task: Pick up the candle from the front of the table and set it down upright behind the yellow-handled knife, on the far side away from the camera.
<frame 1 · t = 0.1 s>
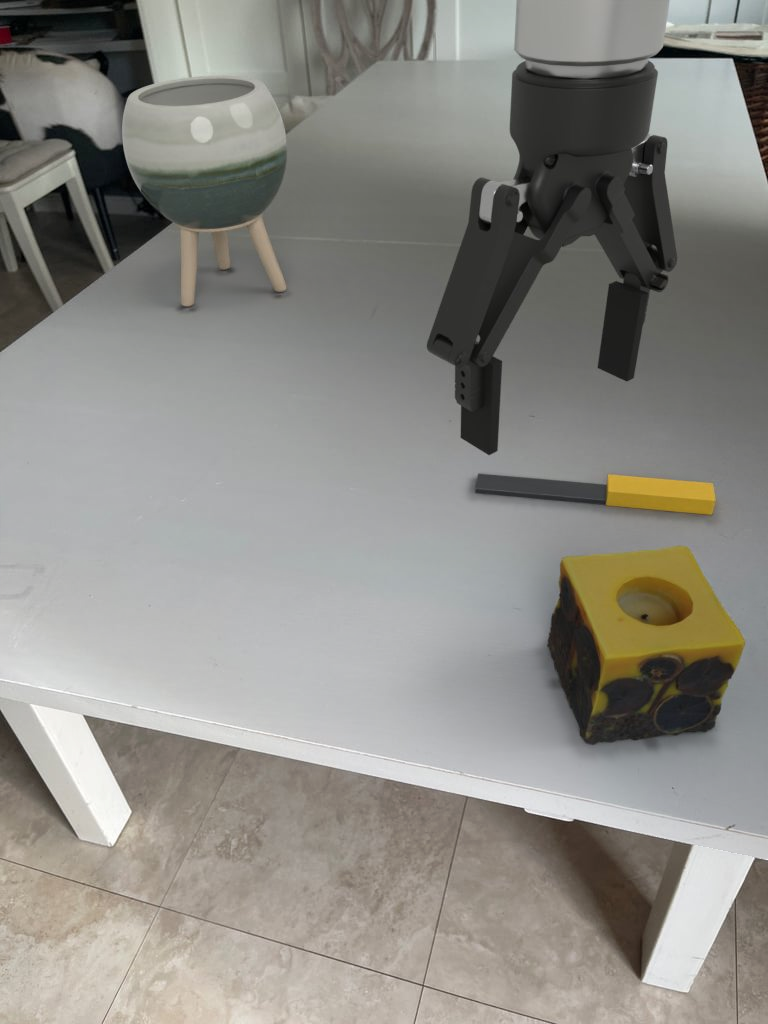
hand: (550, 407, 56), 21 cm above the table, tool pointing down, fingers open, 13 cm apart
knife: (585, 495, 81), on the table
candle: (625, 687, 63), on the table
planter: (231, 289, 125), on the table
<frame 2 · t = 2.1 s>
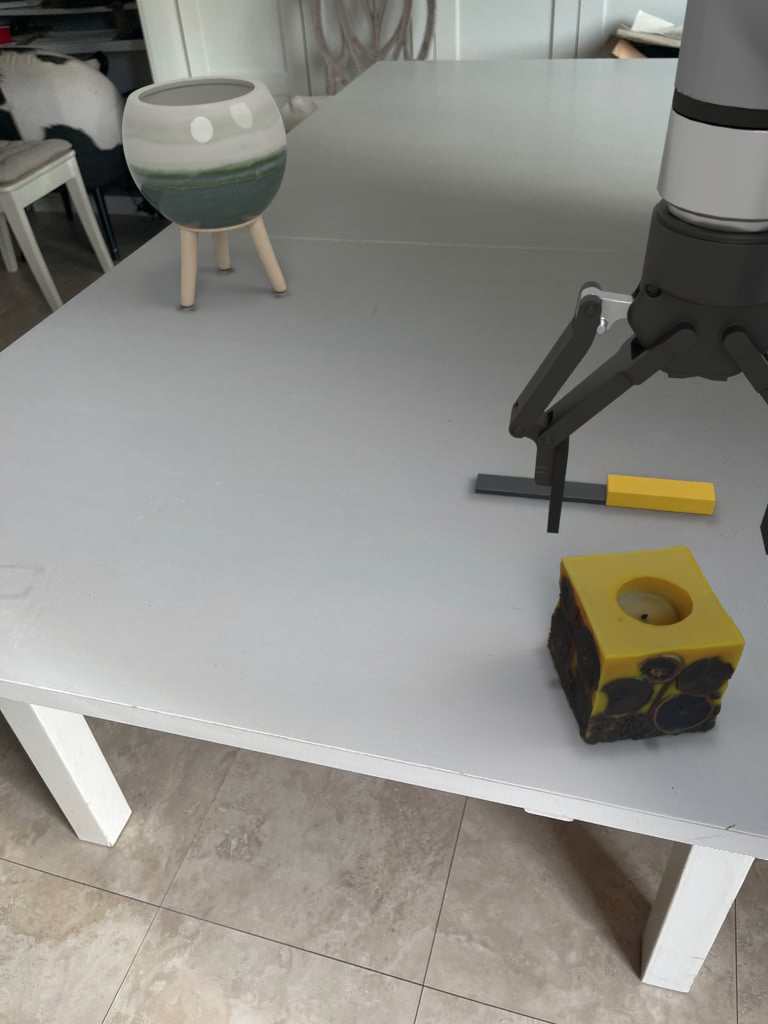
hand: (658, 530, 53), 16 cm above the table, tool pointing down, fingers open, 13 cm apart
nothing on the table moved.
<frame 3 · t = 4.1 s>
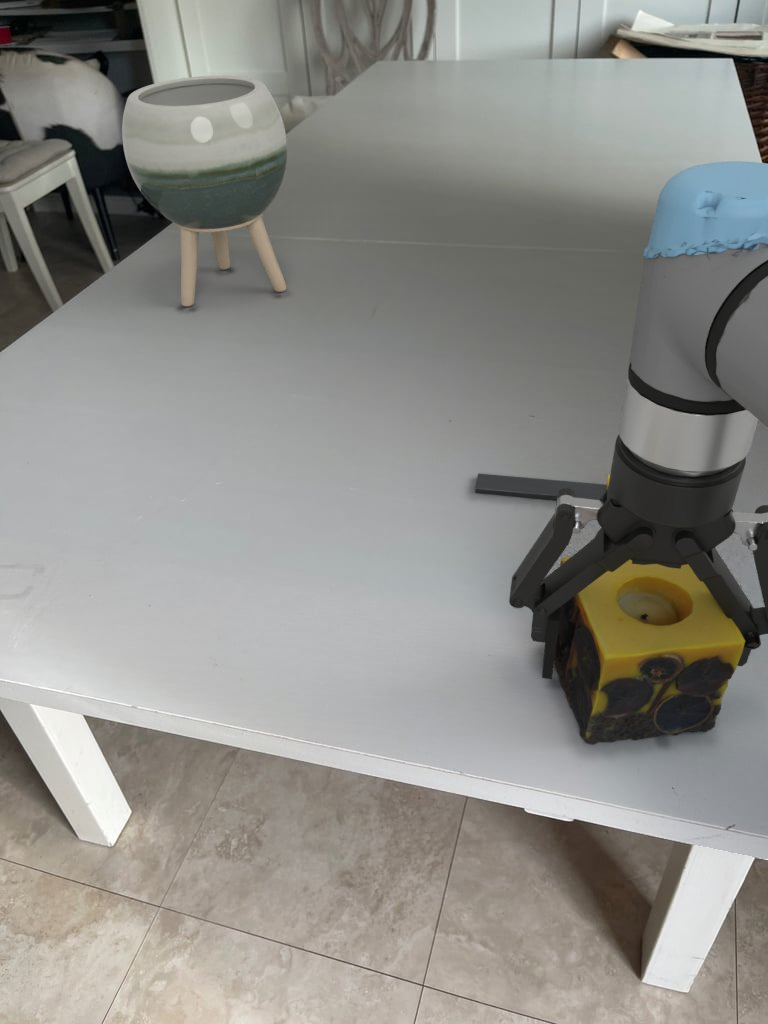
hand: (628, 675, 62), 1 cm above the table, tool pointing down, fingers closed on candle, 11 cm apart
candle: (625, 687, 63), on the table, touching gripper
everything else where it was.
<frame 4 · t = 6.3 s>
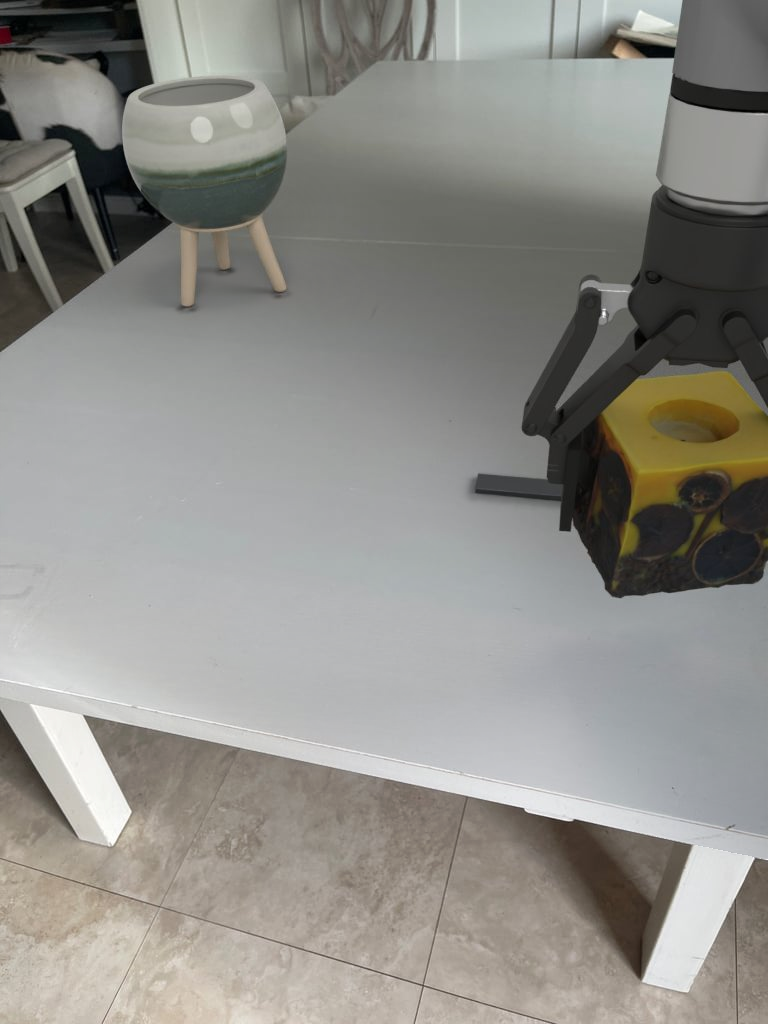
hand: (659, 527, 53), 16 cm above the table, tool pointing down, fingers closed on candle, 11 cm apart
candle: (655, 544, 54), point 14 cm above the table, touching gripper
everything else where it was.
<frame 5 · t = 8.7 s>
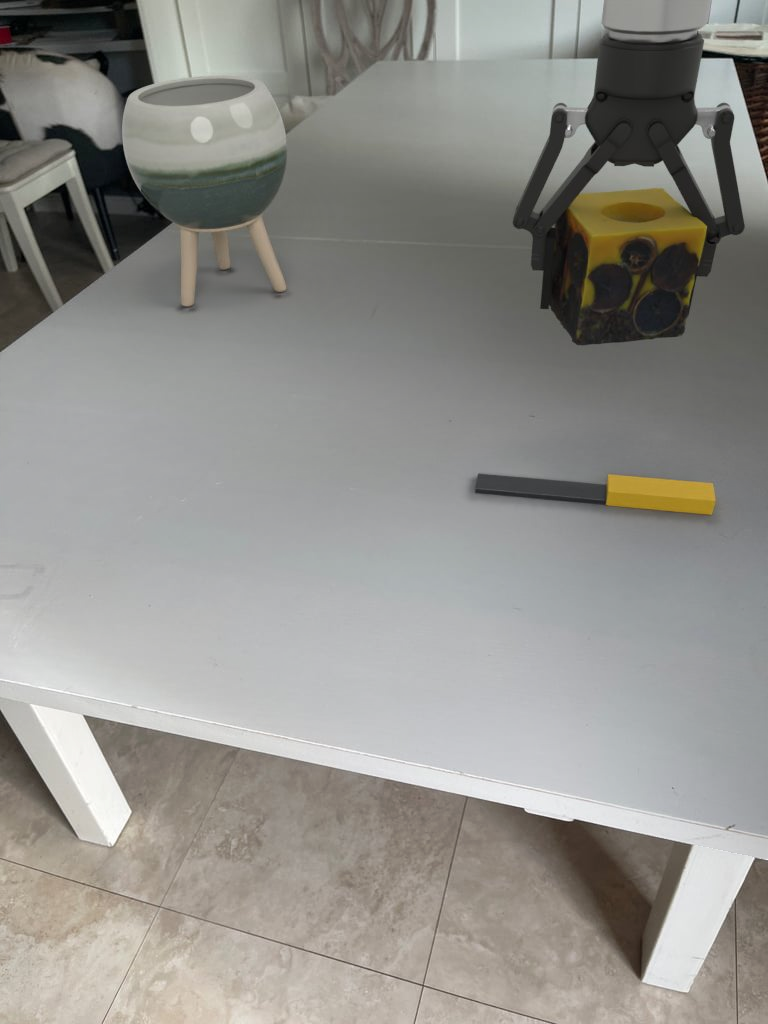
hand: (613, 306, 74), 18 cm above the table, tool pointing down, fingers closed on candle, 11 cm apart
candle: (610, 320, 74), point 17 cm above the table, touching gripper
everything else where it was.
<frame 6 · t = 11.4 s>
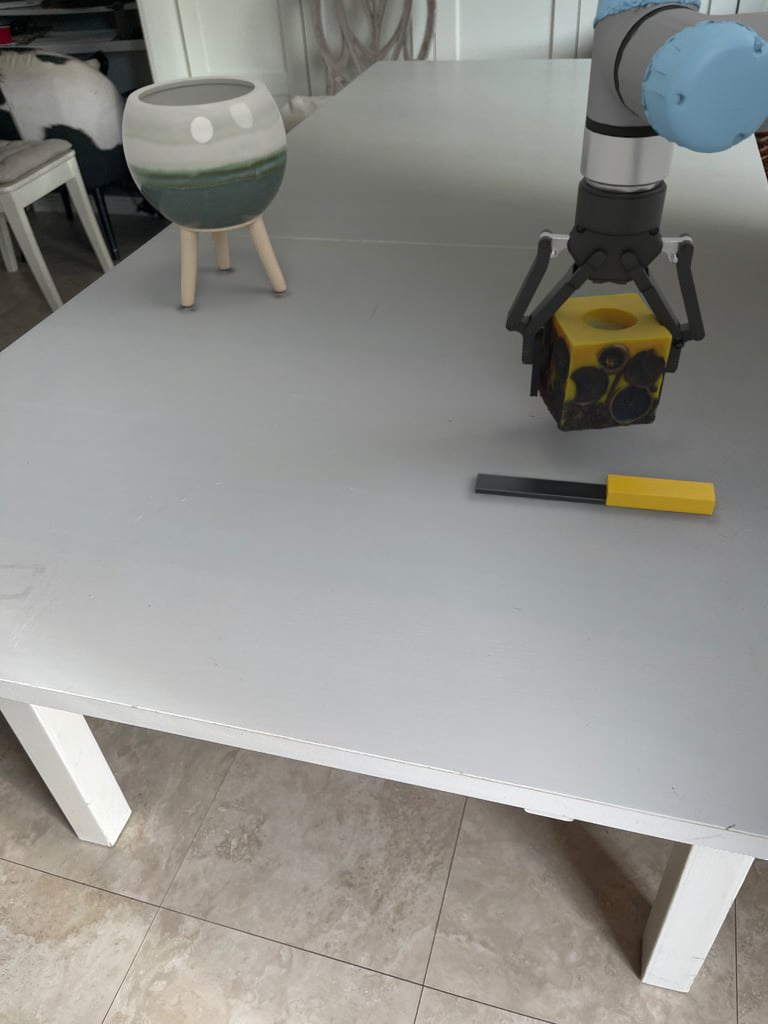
hand: (593, 393, 84), 6 cm above the table, tool pointing down, fingers closed on candle, 11 cm apart
candle: (591, 405, 85), point 5 cm above the table, touching gripper
everything else where it was.
when the fingers open (1 cm above the table, at t = 13.4 s): candle stays where it is, on the table.
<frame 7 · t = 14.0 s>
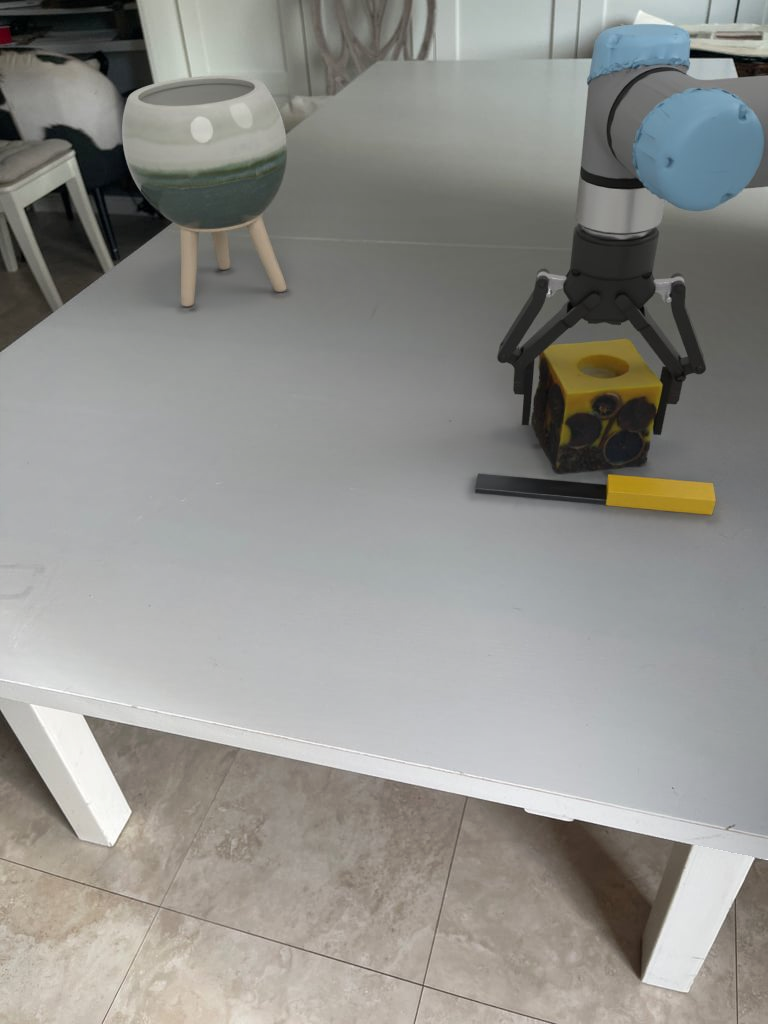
hand: (590, 423, 86), 3 cm above the table, tool pointing down, fingers open, 13 cm apart
candle: (586, 445, 88), on the table
everything else where it was.
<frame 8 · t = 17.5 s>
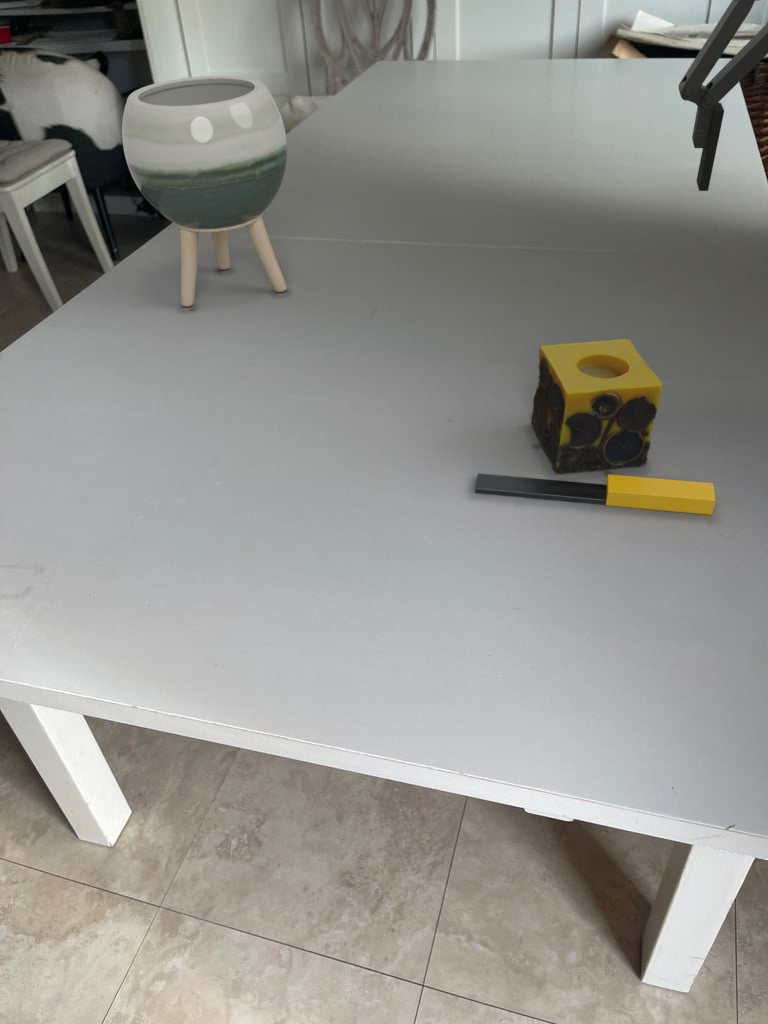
nothing on the table moved.
at the end: candle inside the target area on the table beside the knife (0.1 cm from its centre), on the table; candle tilted 0°; the gripper is holding nothing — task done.
